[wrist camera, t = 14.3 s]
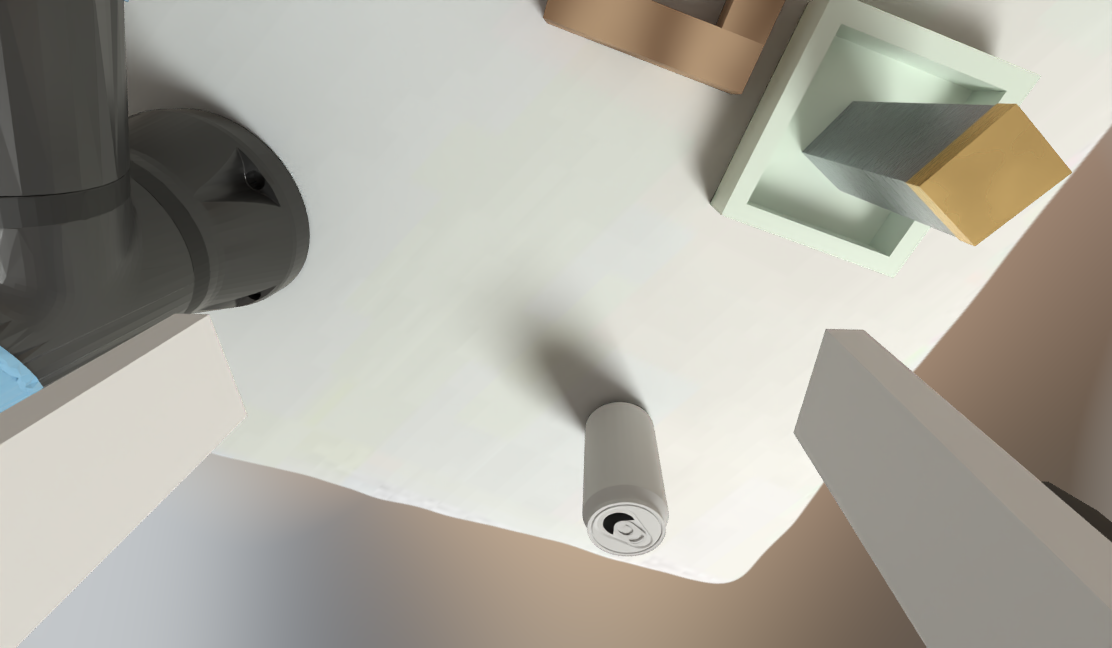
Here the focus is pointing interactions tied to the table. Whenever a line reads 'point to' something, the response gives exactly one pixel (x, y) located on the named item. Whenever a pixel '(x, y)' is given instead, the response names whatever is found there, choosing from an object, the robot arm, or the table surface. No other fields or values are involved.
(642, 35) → the socket block
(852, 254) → the bin
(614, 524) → the beverage can
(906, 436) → the robot arm
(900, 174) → the strut
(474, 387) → the table surface
